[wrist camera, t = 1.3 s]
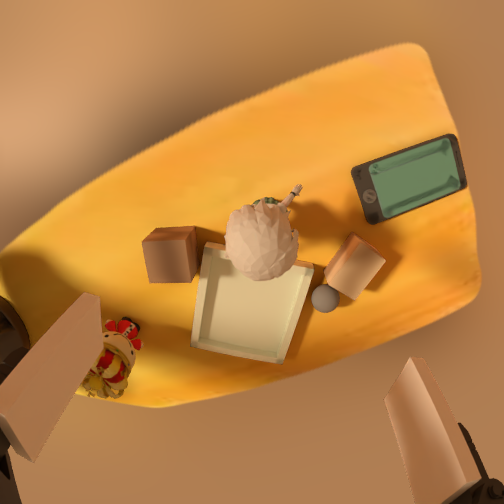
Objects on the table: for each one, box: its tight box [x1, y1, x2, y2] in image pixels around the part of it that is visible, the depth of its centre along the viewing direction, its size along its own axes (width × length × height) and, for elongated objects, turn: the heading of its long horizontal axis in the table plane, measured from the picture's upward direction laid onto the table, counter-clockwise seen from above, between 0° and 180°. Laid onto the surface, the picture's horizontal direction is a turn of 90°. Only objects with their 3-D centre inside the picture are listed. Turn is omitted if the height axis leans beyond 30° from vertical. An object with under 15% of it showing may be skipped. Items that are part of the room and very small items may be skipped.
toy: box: [83, 317, 144, 399], centre depth 36 cm, size 7×7×15 cm
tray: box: [190, 241, 315, 364], centre depth 40 cm, size 13×15×2 cm
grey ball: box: [311, 284, 340, 313], centre depth 38 cm, size 4×4×4 cm
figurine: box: [224, 184, 303, 281], centre depth 29 cm, size 10×6×15 cm, turn 136°
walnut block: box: [142, 226, 200, 283], centre depth 36 cm, size 5×5×5 cm
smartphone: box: [351, 134, 467, 225], centre depth 33 cm, size 7×1×15 cm
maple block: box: [323, 232, 386, 301], centre depth 36 cm, size 4×6×4 cm, turn 149°
